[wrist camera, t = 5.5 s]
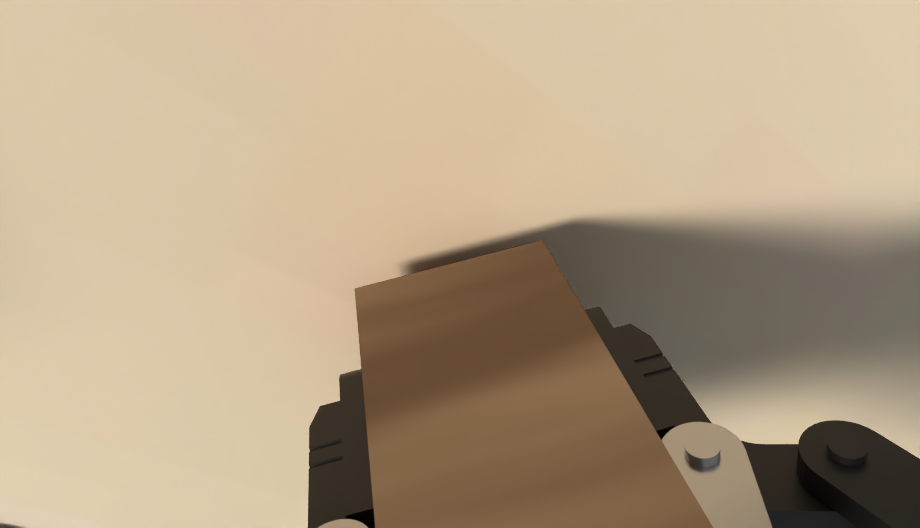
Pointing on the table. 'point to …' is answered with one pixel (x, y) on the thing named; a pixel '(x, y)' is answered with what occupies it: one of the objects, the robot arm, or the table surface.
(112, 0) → the table surface
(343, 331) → the table surface
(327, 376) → the table surface
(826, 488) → the robot arm
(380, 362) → the push stick
